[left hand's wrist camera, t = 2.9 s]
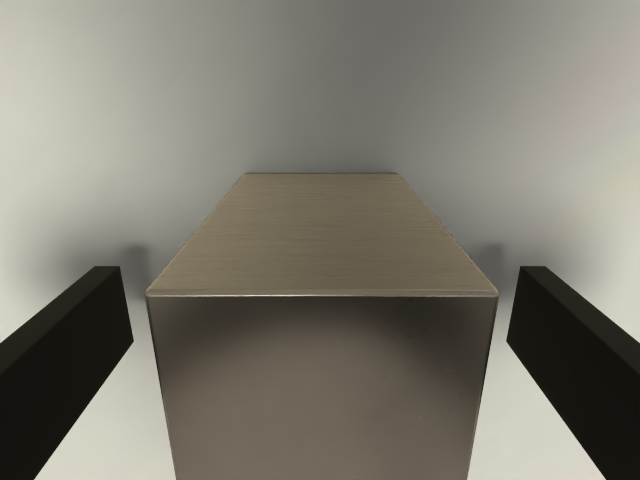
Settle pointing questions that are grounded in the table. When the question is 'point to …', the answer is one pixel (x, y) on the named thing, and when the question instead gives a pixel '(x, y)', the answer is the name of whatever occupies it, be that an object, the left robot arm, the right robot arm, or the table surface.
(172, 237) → the table surface
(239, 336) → the bar
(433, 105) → the table surface
